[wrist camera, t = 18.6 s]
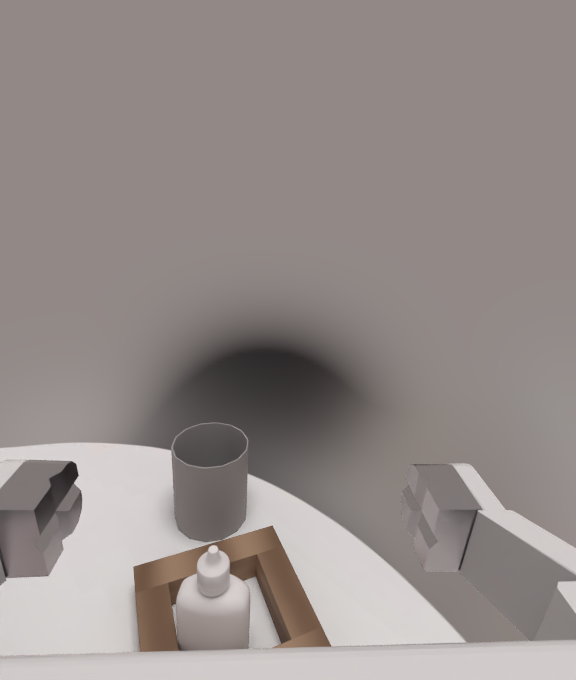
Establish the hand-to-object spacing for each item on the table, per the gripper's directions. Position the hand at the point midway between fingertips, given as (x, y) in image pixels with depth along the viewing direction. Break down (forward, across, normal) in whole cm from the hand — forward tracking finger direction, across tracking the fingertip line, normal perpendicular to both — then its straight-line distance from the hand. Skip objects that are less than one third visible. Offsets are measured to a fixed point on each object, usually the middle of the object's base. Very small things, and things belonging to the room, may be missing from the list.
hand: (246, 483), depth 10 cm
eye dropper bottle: (+14, +3, +30) cm, 33 cm away
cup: (+29, +5, +30) cm, 42 cm away
